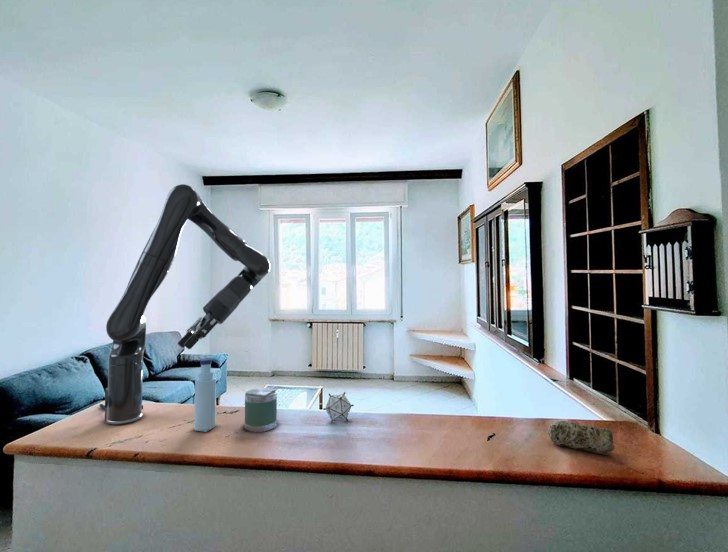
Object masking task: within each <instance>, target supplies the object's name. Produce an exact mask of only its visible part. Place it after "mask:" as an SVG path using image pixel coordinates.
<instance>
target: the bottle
mask: <svg viewBox="0 0 728 552" xmlns="http://www.w3.org/2000/svg"><path fill="white" fill-rule="evenodd" d="M212 361H213V360H212V358H209V357H208V358H201V359H200V361H199V362H200V363H199V364H200V371H199V372H198V375H197V376H198V377H197V378H196V379H194V426H193V427H194V431H197V432H202V433H207V432H209V431H210V430H213V429H214V428H215V427H216V409H217V408H216V400H217V399H216V397H217V377H215V376H214V371H213V370H212V369H211V368H212V365H211V364H212Z"/></svg>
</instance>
